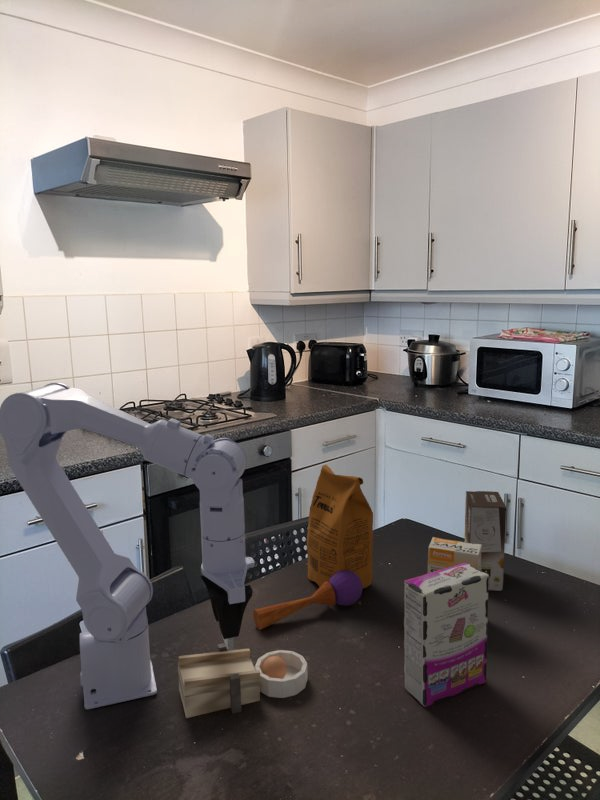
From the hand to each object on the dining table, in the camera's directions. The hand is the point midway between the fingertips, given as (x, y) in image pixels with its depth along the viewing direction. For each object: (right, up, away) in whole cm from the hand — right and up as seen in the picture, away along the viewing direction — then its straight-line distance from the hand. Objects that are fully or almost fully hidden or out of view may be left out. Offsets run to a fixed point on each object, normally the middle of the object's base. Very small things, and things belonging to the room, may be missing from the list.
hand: (226, 627), depth 84 cm
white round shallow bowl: (+7, -9, +4) cm, 12 cm away
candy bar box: (+30, -9, +3) cm, 32 cm away
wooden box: (-1, -10, +1) cm, 10 cm away
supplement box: (+35, -6, +20) cm, 41 cm away
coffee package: (+17, -4, +33) cm, 37 cm away
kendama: (+12, -6, +22) cm, 26 cm away
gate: (0, -2, 0) cm, 2 cm away
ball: (+6, -7, +4) cm, 10 cm away
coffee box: (+44, -3, +34) cm, 56 cm away
